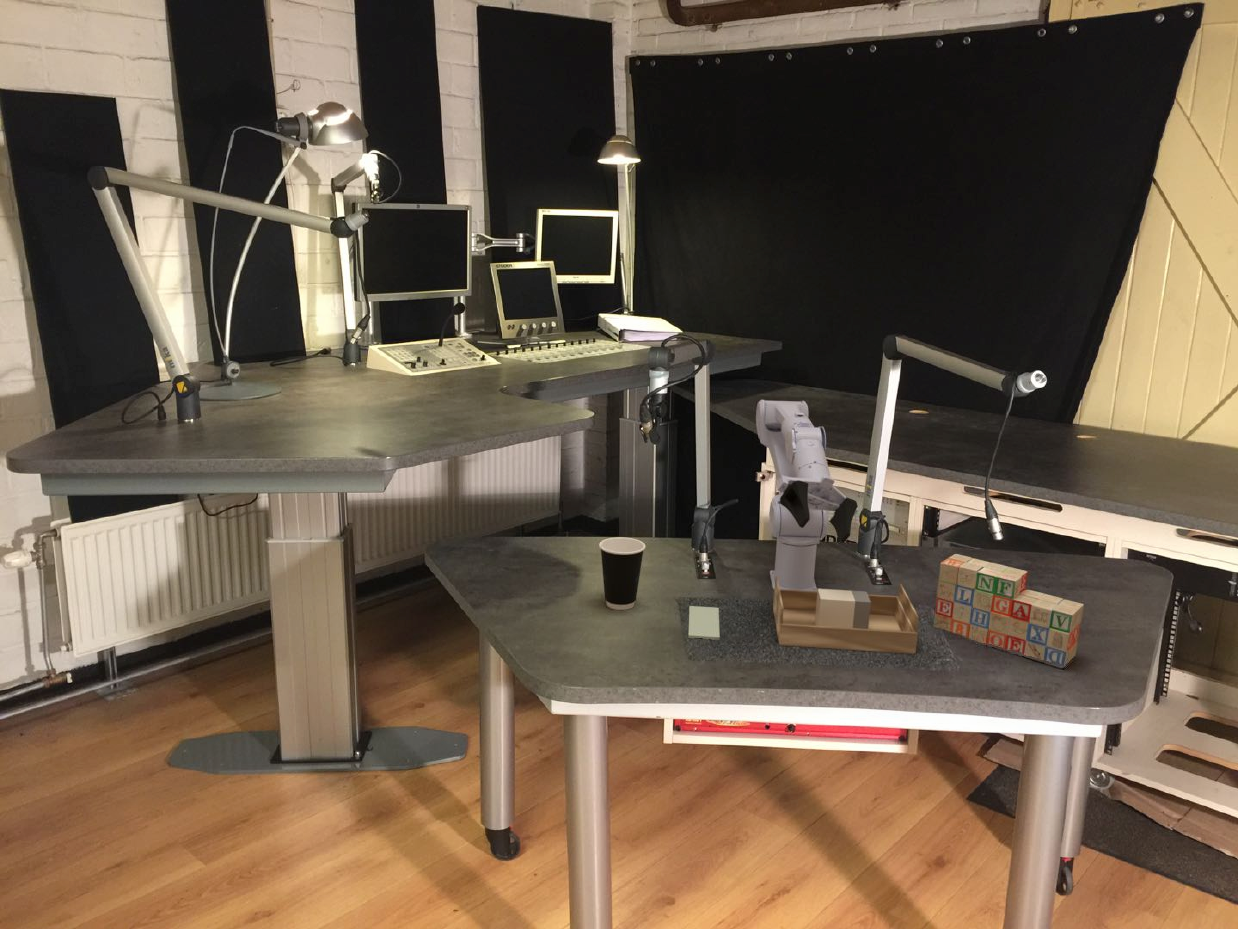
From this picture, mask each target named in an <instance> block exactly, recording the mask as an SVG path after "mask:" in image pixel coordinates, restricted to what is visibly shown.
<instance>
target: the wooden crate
mask: <svg viewBox="0 0 1238 929" xmlns="http://www.w3.org/2000/svg"><path fill="white" fill-rule="evenodd" d="M817 591H818V590H817ZM817 591H804V590H788V589H780V587H779V582H778V577H777V576H776V578H775V589H773V603H772V609H773V610H772V611H773V616H774V621H775V628H776V634H777V639H778V644H779V645H778V646H788V647H803V648H804V647H805V648H818V649H819V648H820V649H835V650H847V651H850V650H851V651H864V652H878V653H879V652H881V653H883V652H884V653H895V654H896V653H897V654H909V655H910V654H911V655H916V650H917V642H918V635H919V634H918V626H919V616H918V613H917V611H916V609H915V607H914V606H913V603H912V601H911V599H910V597H909V596H908V594H907V592H906V590H905V587H904V586H903V584H902V583H899V588H898V595H883V594H868V593H867V594H868V596H869V599H870V601H871V606H870V616H869V625H868V629H860V628H844V627H829V626H816V625H815V613H816V602H817Z"/></svg>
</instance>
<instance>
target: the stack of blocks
mask: <svg viewBox="0 0 1238 929" xmlns="http://www.w3.org/2000/svg"><path fill="white" fill-rule="evenodd" d="M1028 574H1029V573H1028V570H1027V571H1026V570H1023V569H1018V568H1015V567H1011V566H1006V565H1005V564H999V563H996V562H990V561H986V560H982V559H977V558H975V557H974V558H972V557H971V556H967V555H962V554H958V553H955V554H953V555H951V556H949V557H948V558H946V559H944V560H943V561H941V562H940V565H939V575H938V581H937V588H936V589H937V590H936V601H935V612H934V613H935V614H934V619H933V627H934V628H936V629H937V628H938V629H941V630H944V631H947V632H950V633H954V634H957V635H959V636H963V639H965V638H969V639H971V640H975V641H978V642H981V643H985V644H992V645H995V646H998V647H1002V648H1004V649H1007V650H1014V651H1017V652H1021V653H1023V654H1024V655H1026V656H1032V657H1035V658H1038V659H1041V660H1045V661H1049V662H1055V663H1058V664H1061V665H1062V666H1065V664H1066V663H1067V662H1069V661H1070V660H1071V659H1072V658H1073V657H1074V656H1075V657H1076V654H1077V648H1078V647H1077V646H1078V640H1079V636H1080V630H1081V629H1080V628H1081V622H1082V618H1083V612H1084V603H1080V602H1076V601H1073V600H1069V599H1064V598H1062V597H1058V596H1054V595H1050V594H1047V593H1043V592H1039V591H1035V590H1032V589H1026V588H1027V580H1028Z"/></svg>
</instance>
